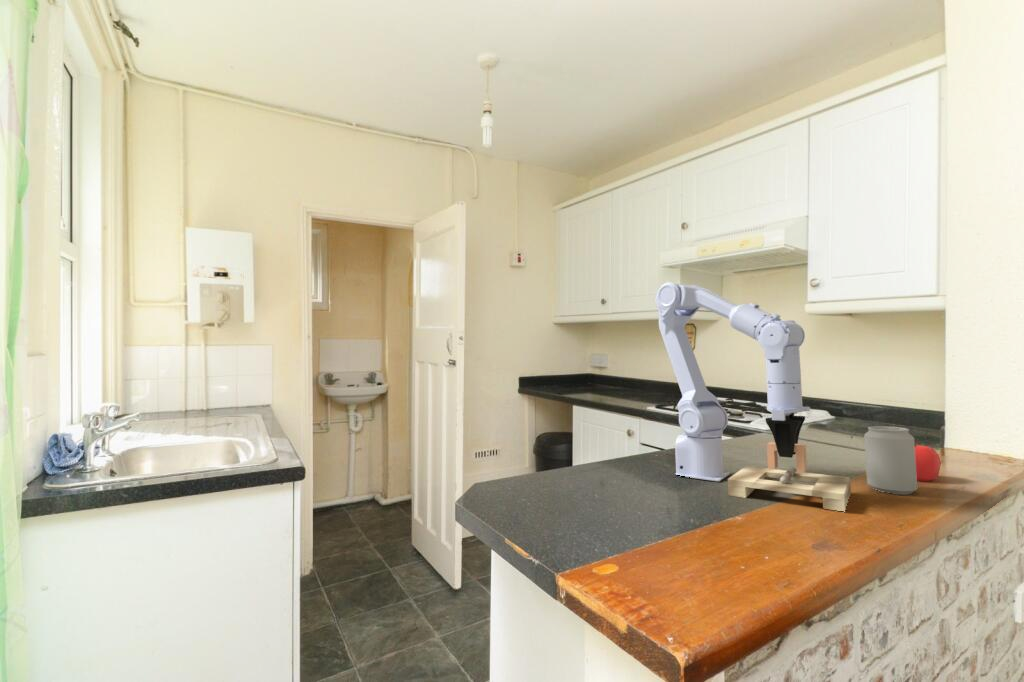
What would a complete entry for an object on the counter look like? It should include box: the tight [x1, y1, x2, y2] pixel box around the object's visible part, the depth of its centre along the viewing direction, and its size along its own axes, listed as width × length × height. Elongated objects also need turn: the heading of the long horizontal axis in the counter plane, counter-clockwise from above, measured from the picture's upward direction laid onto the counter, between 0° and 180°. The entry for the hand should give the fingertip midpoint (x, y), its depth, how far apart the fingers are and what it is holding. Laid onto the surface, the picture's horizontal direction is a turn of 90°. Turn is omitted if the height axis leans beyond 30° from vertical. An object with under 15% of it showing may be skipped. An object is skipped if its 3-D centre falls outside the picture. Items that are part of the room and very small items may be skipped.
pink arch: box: [766, 441, 808, 473], centre depth 88 cm, size 6×3×5 cm, turn 51°
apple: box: [914, 439, 942, 482], centre depth 98 cm, size 8×8×8 cm
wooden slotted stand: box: [727, 465, 852, 513], centre depth 88 cm, size 18×14×4 cm
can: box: [863, 425, 918, 496], centre depth 90 cm, size 8×8×12 cm
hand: (787, 455), depth 88 cm, fingers closed on pink arch, 3 cm apart
